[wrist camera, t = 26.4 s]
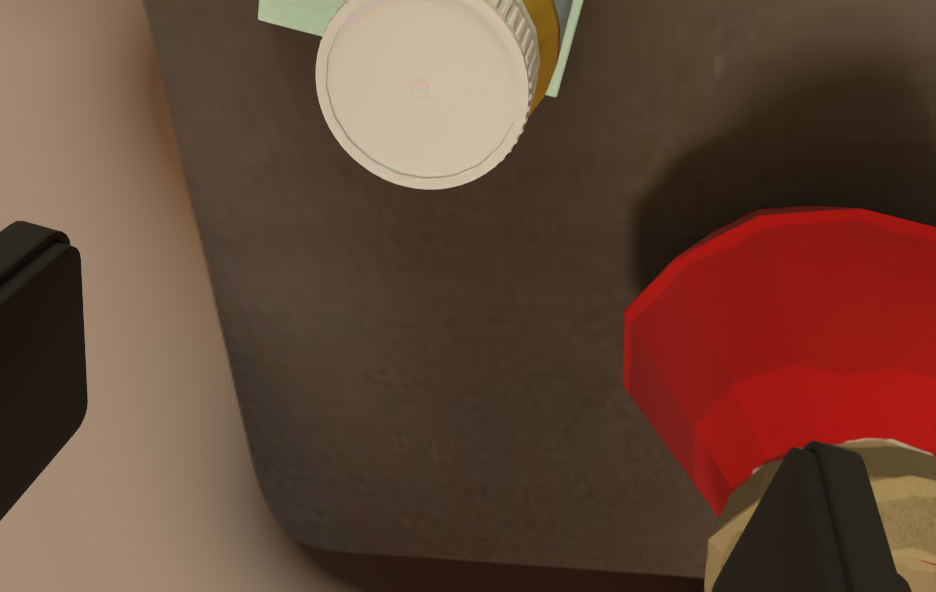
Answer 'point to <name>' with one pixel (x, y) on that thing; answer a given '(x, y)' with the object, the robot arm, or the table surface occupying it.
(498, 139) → the bottle
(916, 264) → the bottle
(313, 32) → the scale
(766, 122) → the table surface
